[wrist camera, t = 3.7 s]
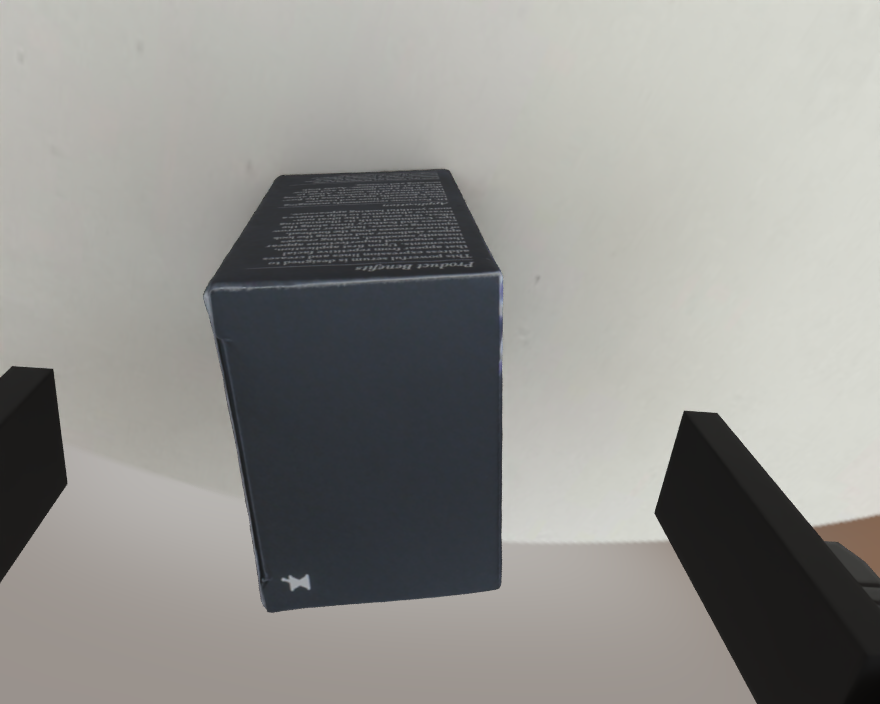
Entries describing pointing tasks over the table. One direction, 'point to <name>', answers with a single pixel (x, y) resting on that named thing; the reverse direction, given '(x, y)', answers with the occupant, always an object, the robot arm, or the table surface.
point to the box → (365, 389)
